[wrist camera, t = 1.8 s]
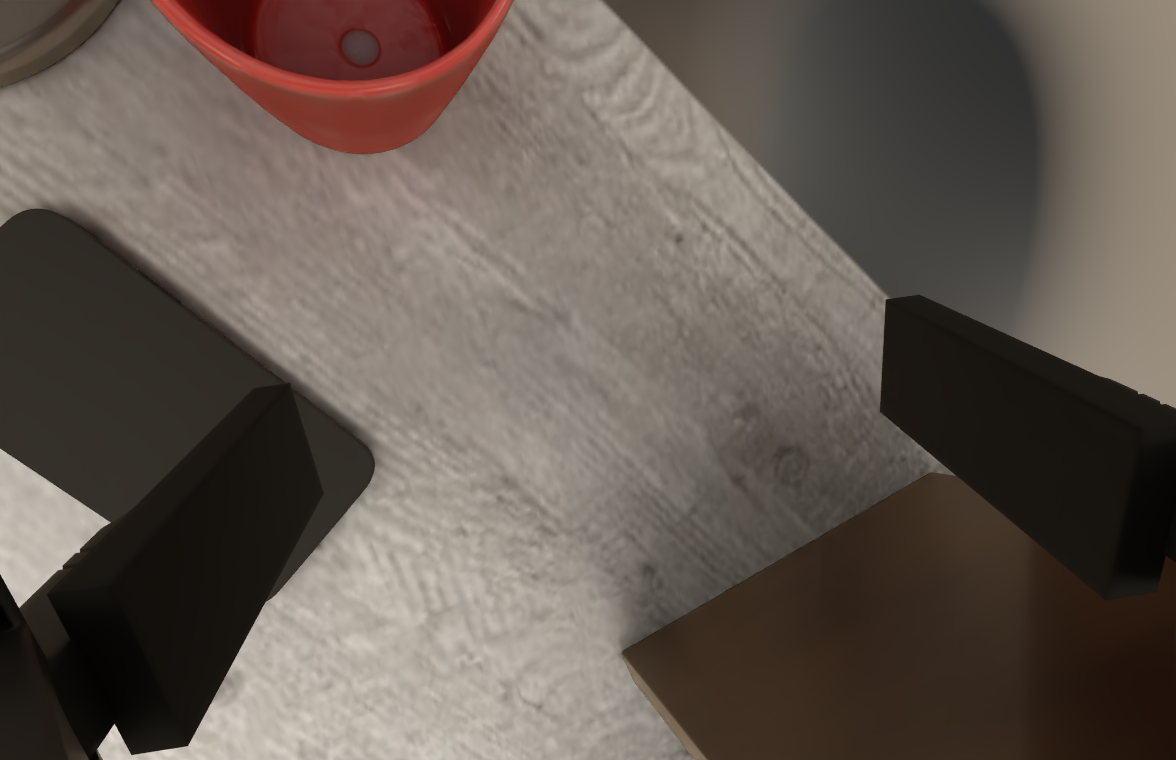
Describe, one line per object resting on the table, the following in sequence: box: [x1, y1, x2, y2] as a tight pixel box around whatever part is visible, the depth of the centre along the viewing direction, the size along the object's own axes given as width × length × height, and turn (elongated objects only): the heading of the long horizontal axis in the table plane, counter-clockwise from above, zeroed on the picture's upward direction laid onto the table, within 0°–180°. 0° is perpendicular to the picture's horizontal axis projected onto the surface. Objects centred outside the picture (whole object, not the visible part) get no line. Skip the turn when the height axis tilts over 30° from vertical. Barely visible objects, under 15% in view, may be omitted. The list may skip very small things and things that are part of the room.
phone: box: [0, 209, 375, 601], centre depth 24 cm, size 7×1×15 cm
